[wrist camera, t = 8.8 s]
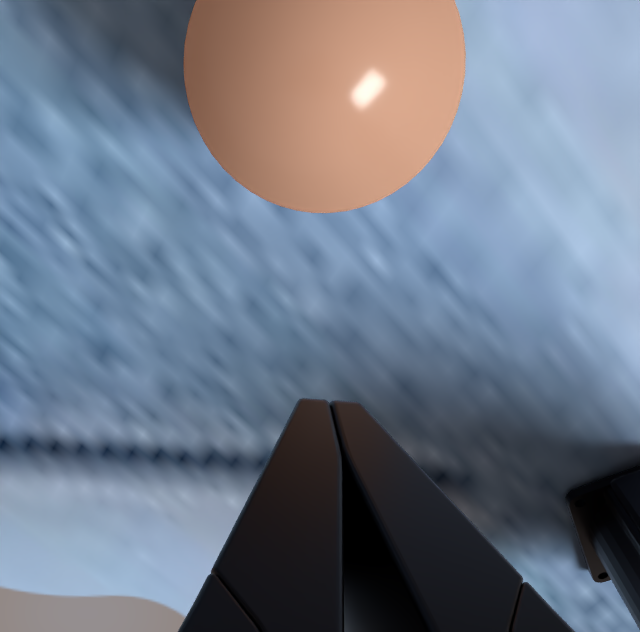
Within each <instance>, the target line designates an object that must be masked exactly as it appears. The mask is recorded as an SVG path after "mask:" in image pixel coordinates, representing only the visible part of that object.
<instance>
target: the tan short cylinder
mask: <svg viewBox="0 0 640 632" xmlns="http://www.w3.org/2000/svg"><path fill="white" fill-rule="evenodd" d="M465 55H466V53H465V43H464V33H463V28H462V24H461V20H460V15H459V12H458V9H457V6H456V4H455V1H454V0H196V2H195V4H194V8H193V11H192V14H191V17H190V20H189V23H188V28H187V34H186V39H185V46H184V79H185V88H186V93H187V98H188V103H189V106H190V110H191V113H192V116H193V119H194V122H195V124H196V126H197V128H198V131H199V133H200V135H201V137H202V139H203V141H204V142H205V144H206V146H207V147H208V149H209V150H210V152H211V154H212V155H213V156H214V158H215V159H216V160H217V161H218V162H219V164H220V165H221V166H222V167H223V169H224V170H225V171H226V172H227V173H229V174H230V175H231V176H232V177H233V178H234V179H235V180H236V181H237V182H238V183H240V184H241V185H242V186H244V187H245V188H246V189H248V190H249V191H250V192H252V193H254V194H256V195H258V196H259V197H261V198H263V199H265V200H267V201H269V202H272V203H274V204H277V205H279V206H282V207H286V208H289V209H293V210H297V211H304V212H311V213H333V212H342V211H348V210H352V209H356V208H360V207H363V206H366V205H369V204H371V203H374V202H377V201H379V200H381V199H383V198H385V197H386V196H388V195H390V194H392V193H394V192H395V191H397V190H398V189H399V188H401V187H402V186H404V185H405V184H407V183H408V182H409V181H410V180H411V179H412V178H413V177H415V176H416V175H417V174H418V173H419V172H420V171H421V170H422V169H423V168H424V167H425V165H426V164H427V163H428V162H429V161H430V160H431V159H432V157H433V156H434V154H435V153H436V152H437V150H438V149H439V147H440V146H441V144H442V143H443V141H444V139H445V137H446V135H447V133H448V132H449V130H450V128H451V125H452V123H453V120H454V118H455V115H456V113H457V110H458V106H459V102H460V99H461V95H462V90H463V84H464V77H465Z"/></svg>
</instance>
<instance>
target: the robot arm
mask: <svg viewBox="0 0 640 632" xmlns="http://www.w3.org/2000/svg"><path fill="white" fill-rule="evenodd" d="M565 500H566V503H567V506H568V509H569V512H570V515H571V518H572V521H573V525H574V528H575V531H576V534H577V537H578V540H579V543H580V546H581V549H582V552H583V555H584V558H585V561H586V564H587V567H588V570H589V573H590V574H591V576H592V578H593V580H594V581H595V582H606V581H609V580H612V582H613V584H614V585H615V587H616V589H617V591H618V592H619V594H620V596H621V598H622V599H623V601H624V603H625V605H626V606H627V608H628V610H629V612H630V613H631V615H632V617H633V619H634V620H635V622H636V624H637V626H638V627H639V629H640V466H637V467H635V468H632V469H629V470H626V471H623V472H621V473H618V474H615V475H612V476H609V477H607V478H604V479H601V480H598V481H595V482H593V483H590V484H587V485H584V486H581V487H579V488H576V489H573V490H571V491H570V492H569V493H568V494H567V495H566V497H565ZM522 582H523V578H522V576H521V575H520V574H519V573H518V572H517V571H516V569H515V568H514V567H513V566H512V565H511V564H510V563H509V562H508V561H507V560H506V559H505V558H504V557H503V556H502V554H501V553H500V552H499V551H498V550H497V549H496V548H495V547H494V546H493V545H492V544H491V543H490V542H489V541H488V539H487V538H486V537H485V536H484V535H483V534H482V533H481V532H480V531H479V530H478V529H477V528H476V527H475V526H474V524H473V523H472V522H471V521H470V520H469V519H468V518H467V517H466V516H465V515H464V514H463V513H462V512H461V511H460V509H459V508H458V507H457V506H456V505H455V504H454V503H453V502H452V501H451V500H450V499H449V498H448V497H447V496H446V494H445V493H444V492H443V491H442V490H441V489H440V488H439V487H438V486H437V485H436V484H435V483H434V482H433V481H432V479H431V478H430V477H429V476H428V475H427V474H426V473H425V472H424V471H423V470H422V469H421V468H420V467H419V466H418V464H417V463H416V462H415V461H414V460H413V459H412V458H411V457H410V456H409V455H408V454H407V453H406V452H405V451H404V449H403V448H402V447H401V446H400V445H399V444H398V443H397V442H396V441H395V440H394V439H393V438H392V437H391V436H390V434H389V433H388V432H387V431H386V430H385V429H384V428H383V427H382V426H381V425H380V424H379V423H378V422H377V421H376V419H375V418H374V417H373V416H372V415H371V414H370V413H369V412H368V411H367V410H366V409H365V408H364V407H363V406H362V405H361V404H360V403H358V402H350V401H332V402H331V403H330V404H329V402H327V401H326V400H320V399H305V398H303V399H300V400H299V401H298V402H297V404H296V406H295V408H294V410H293V412H292V414H291V415H290V417H289V419H288V421H287V423H286V425H285V427H284V429H283V431H282V433H281V435H280V437H279V439H278V441H277V443H276V445H275V447H274V449H273V451H272V453H271V455H270V456H269V458H268V460H267V462H266V464H265V466H264V468H263V470H262V472H261V474H260V476H259V478H258V480H257V482H256V484H255V486H254V488H253V490H252V492H251V494H250V496H249V497H248V499H247V501H246V503H245V505H244V507H243V509H242V511H241V513H240V515H239V517H238V519H237V521H236V523H235V525H234V527H233V529H232V531H231V533H230V535H229V537H228V539H227V540H226V542H225V544H224V546H223V548H222V550H221V552H220V554H219V556H218V558H217V560H216V562H215V564H214V566H213V568H212V570H211V574H210V575H208V577H207V579H206V581H205V583H204V584H203V586H202V588H201V590H200V592H199V594H198V596H197V598H196V600H195V602H194V604H193V606H192V607H191V609H190V611H189V613H188V614H187V616H186V618H185V620H184V622H183V624H182V625H181V627H180V629H179V631H178V632H575V631H574V630H573V629H572V628H571V627H570V626H569V625H568V624H567V623H566V622H565V621H564V620H563V619H562V618H561V617H560V616H559V615H558V614H557V613H556V612H555V611H554V610H553V609H552V608H551V607H550V605H549V604H548V603H547V602H546V601H545V600H544V599H543V598H542V597H541V596H540V595H539V594H538V593H537V592H536V591H535V589H534V588H533V587H532V586H531V585H530V584H529V583H527V582H524V583H523V584H522Z"/></svg>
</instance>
